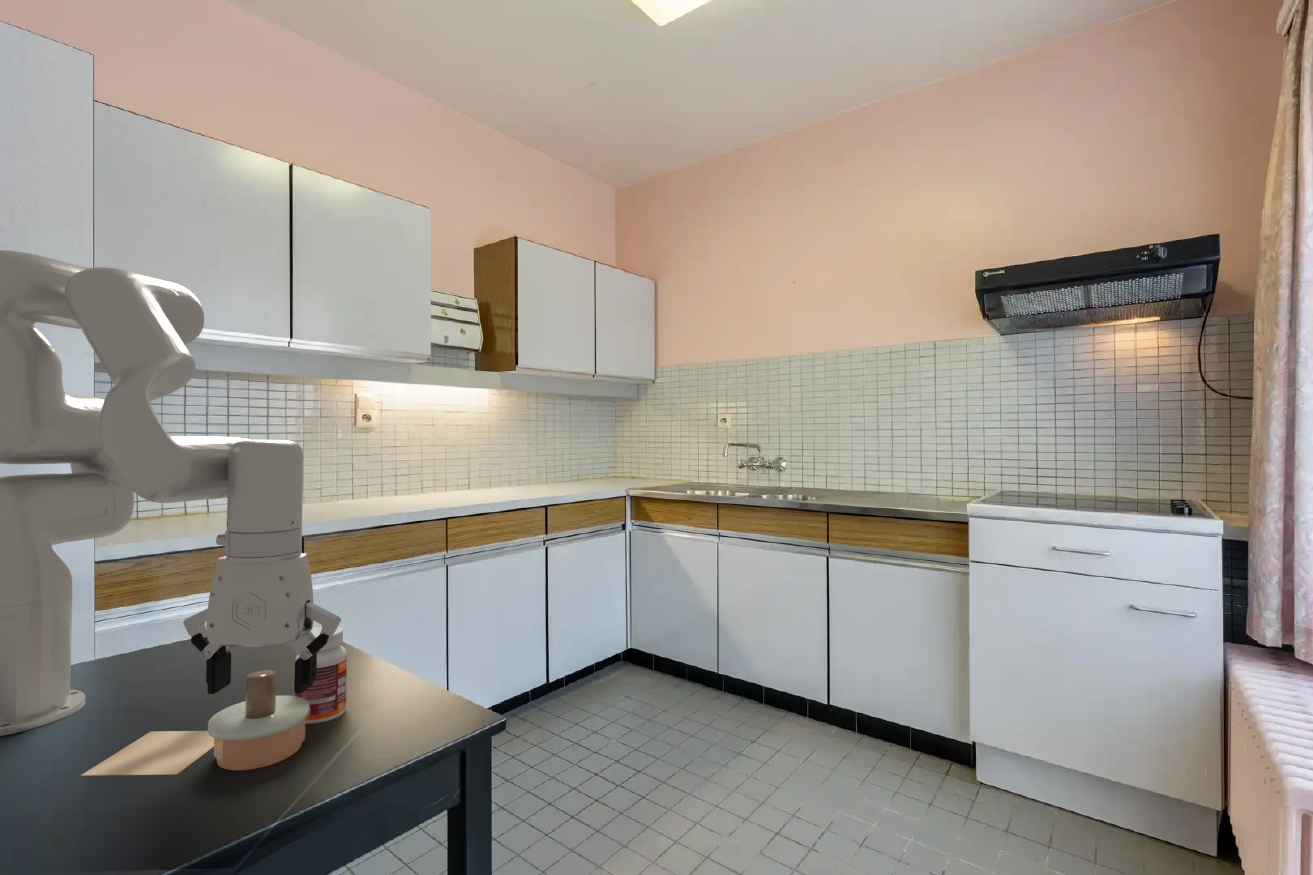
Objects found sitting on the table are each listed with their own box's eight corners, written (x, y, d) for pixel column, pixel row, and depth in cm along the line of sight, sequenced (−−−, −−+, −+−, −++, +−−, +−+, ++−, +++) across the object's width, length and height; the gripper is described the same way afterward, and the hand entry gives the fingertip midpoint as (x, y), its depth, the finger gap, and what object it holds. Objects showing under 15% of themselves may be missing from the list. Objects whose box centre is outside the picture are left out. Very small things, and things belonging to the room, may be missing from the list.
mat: (80, 778, 67) (80, 775, 67) (150, 734, 77) (150, 731, 77) (176, 777, 67) (177, 774, 67) (234, 733, 77) (234, 730, 77)
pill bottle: (348, 719, 82) (350, 634, 82) (295, 730, 78) (296, 641, 78) (342, 702, 87) (344, 622, 87) (292, 712, 84) (294, 628, 84)
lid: (186, 741, 67) (187, 692, 67) (242, 701, 77) (243, 659, 77) (280, 740, 68) (282, 692, 68) (324, 701, 78) (325, 659, 78)
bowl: (198, 773, 68) (199, 737, 68) (245, 736, 77) (245, 704, 77) (277, 772, 69) (278, 736, 69) (314, 736, 77) (315, 704, 77)
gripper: (164, 549, 68) (161, 703, 68) (325, 550, 69) (322, 702, 69) (209, 538, 76) (206, 677, 76) (353, 539, 77) (351, 676, 77)
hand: (261, 689), depth 73 cm, fingers open, 9 cm apart
